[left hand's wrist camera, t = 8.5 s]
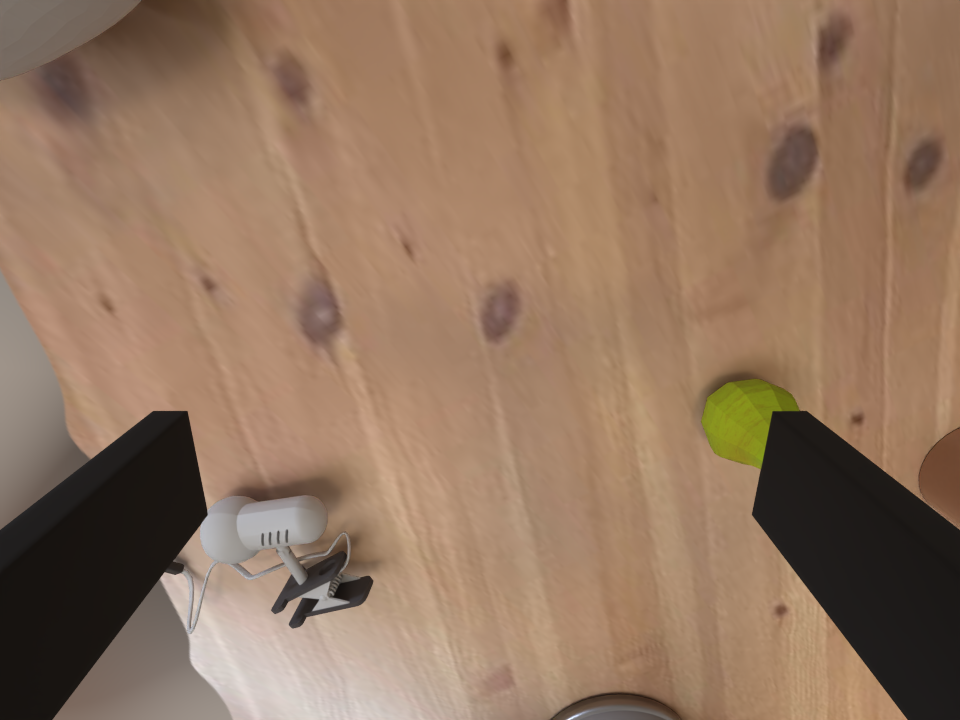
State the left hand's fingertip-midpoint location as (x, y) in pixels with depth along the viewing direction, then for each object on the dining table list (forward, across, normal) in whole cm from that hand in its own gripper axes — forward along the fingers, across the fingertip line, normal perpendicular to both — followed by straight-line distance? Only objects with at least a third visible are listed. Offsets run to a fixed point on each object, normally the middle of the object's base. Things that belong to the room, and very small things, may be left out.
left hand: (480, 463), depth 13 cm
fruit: (+28, -19, +11) cm, 36 cm away
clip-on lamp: (+28, +19, +24) cm, 41 cm away
